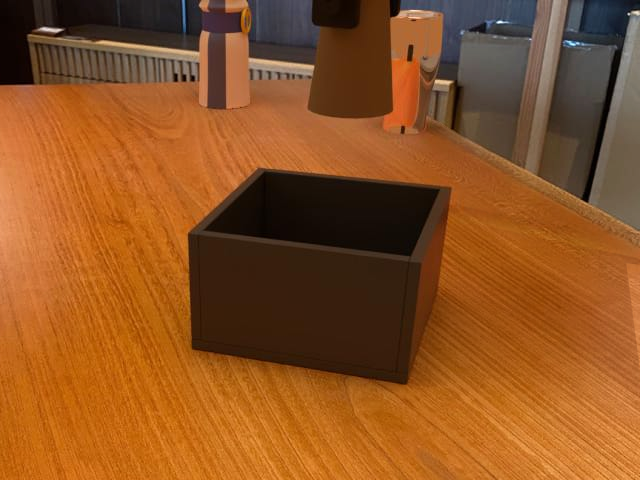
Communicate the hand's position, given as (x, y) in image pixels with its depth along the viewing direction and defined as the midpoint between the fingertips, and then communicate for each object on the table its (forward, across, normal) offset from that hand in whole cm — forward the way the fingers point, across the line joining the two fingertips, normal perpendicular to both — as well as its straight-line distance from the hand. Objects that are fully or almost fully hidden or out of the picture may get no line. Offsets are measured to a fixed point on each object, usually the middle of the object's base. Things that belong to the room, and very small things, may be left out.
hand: (356, 17), depth 56 cm
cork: (+6, 0, 0) cm, 6 cm away
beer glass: (+21, +47, +16) cm, 54 cm away
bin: (+21, -3, 0) cm, 21 cm away
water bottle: (+21, +52, +47) cm, 73 cm away
